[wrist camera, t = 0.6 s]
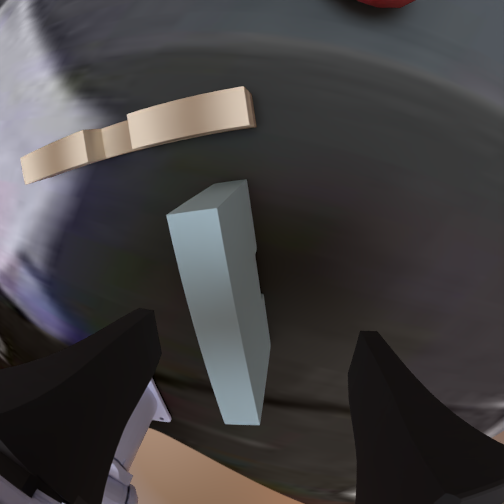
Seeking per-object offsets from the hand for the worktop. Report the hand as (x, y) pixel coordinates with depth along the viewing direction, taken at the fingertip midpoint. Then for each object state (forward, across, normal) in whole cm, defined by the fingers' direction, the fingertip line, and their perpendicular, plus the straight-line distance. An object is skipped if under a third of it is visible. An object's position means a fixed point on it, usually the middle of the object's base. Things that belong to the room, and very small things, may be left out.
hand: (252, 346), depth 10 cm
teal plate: (+10, +2, +2) cm, 10 cm away
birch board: (+10, +9, -7) cm, 15 cm away
